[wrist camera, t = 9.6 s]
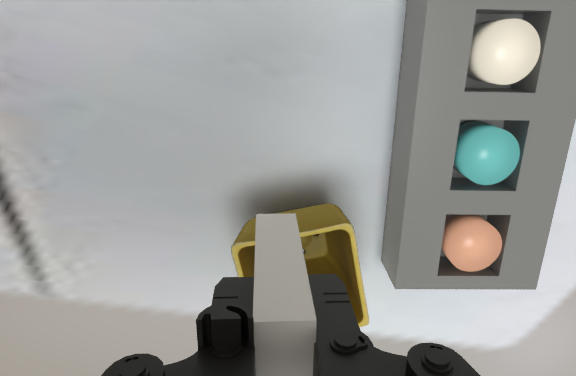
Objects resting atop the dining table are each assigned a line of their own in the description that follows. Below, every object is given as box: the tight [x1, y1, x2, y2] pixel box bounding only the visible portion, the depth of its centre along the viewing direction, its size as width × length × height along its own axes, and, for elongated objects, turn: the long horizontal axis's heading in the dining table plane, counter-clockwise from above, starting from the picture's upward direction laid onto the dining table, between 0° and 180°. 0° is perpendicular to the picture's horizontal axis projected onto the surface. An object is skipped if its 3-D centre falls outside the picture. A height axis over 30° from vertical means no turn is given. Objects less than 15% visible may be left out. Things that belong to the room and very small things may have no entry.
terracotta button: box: [441, 214, 502, 272], centre depth 36 cm, size 4×4×3 cm
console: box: [381, 0, 576, 289], centre depth 35 cm, size 12×23×5 cm, turn 179°
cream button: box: [467, 18, 540, 85], centre depth 31 cm, size 4×4×3 cm
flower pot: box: [231, 204, 369, 327], centre depth 35 cm, size 9×9×9 cm
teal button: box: [453, 121, 520, 185], centre depth 34 cm, size 4×4×3 cm
